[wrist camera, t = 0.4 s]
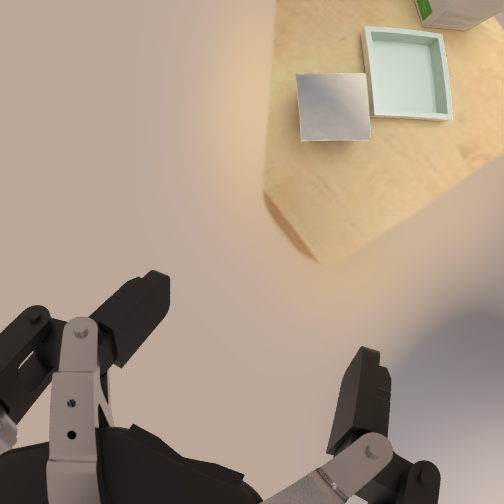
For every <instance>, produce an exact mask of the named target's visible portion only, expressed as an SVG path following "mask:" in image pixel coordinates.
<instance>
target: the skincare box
mask: <svg viewBox="0 0 504 504" xmlns="http://www.w3.org/2000/svg"><path fill="white" fill-rule="evenodd" d="M414 1H415V4H416V7H417V10H418V13H419V16H420V20H421V24H422V26H423V27H429V28H442V29H453V30H461V31H467V30H469V29H471V28H472V27H474V26H476V25H478V24H480V23H481V22H483V21H485V20H487V19H489V18H491V17H492V16H494V15H496V14H498V13H500V12H502V11H504V0H414Z"/></svg>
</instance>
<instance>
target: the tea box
mask: <svg viewBox="0 0 504 504" xmlns="http://www.w3.org/2000/svg"><path fill="white" fill-rule="evenodd" d="M296 82H297V93H298V105H299V117H300V130H301V141H337V140H363V141H371V130H370V115H369V102H368V91H367V81H366V73H311V74H296Z"/></svg>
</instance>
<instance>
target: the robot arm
mask: <svg viewBox="0 0 504 504" xmlns="http://www.w3.org/2000/svg"><path fill="white" fill-rule="evenodd" d="M169 306H170V277H169V276H167V275H165V274H163V273H160V272H158V271H155V270H151V271H150V272H149V273H147V274H146V275H145V276H144V277H143V278H140V277H137V278H134V279H132V280H129V281H127V282H126V283H125V284H124V285H123V286H122V287H120V289H119V290H117V291H116V292H115V293H114V294H113V296H111V297H110V298H108V299H107V300H106V301H105V302H104V303H103V304H102V305H101V306H100V307H99V308H98V309H97V310H96V311H94V313H92V314H91V315H90V316H89V317H76V318H74V319H72V320H70V321H69V322H65V321H62V320H58V319H54V318H51V316H50V313H49V311H48V309H47V308H45V307H43V306H40V305H35V306H31V307H29V308H27V309H25V310H24V311H23V312H22V313H21V314H20V315H19V316H18V317H17V318H16V319H15V320H14V321H13V322H11V323H10V324H9V325H8V326H7V327H6V328H5V330H3V331H2V332H1V333H0V504H345V503H346V502H347V500H348V499H349V498H350V497H351V496H352V495H354V494H355V495H357V496H358V497H360V498H362V499H364V500H366V501H367V502H368V504H438V497H439V489H440V479H441V477H440V472H439V470H438V468H437V467H436V466H435V465H434V464H433V463H431V462H429V461H418V462H417V463H415V464H413V463H410V462H409V461H407V460H405V459H404V458H402V457H400V456H398V455H397V454H395V452H394V451H393V448H392V445H391V443H390V441H389V440H388V424H389V412H390V397H391V393H390V391H391V377H390V375H389V372H388V369H387V368H385V367H382V366H379V362H380V352H379V351H376V350H373V349H369V348H366V347H363V346H362V347H360V349H359V350H358V352H357V354H356V355H355V357H354V359H353V360H352V362H351V363H350V365H349V367H348V368H347V370H346V372H345V374H344V377H343V380H342V383H341V388H340V393H339V398H338V403H337V408H336V412H335V417H334V421H333V426H332V431H331V434H330V439H329V443H328V447H327V451H326V453H327V454H331V455H334V457H333V459H331V460H330V461H328V462H327V463H326V464H324V465H323V466H321V467H320V468H317V469H315V470H314V471H312V472H311V473H309V474H308V475H306V476H305V477H303V478H301V479H300V480H298V481H297V482H295V483H294V484H292V485H290V486H289V487H287V488H285V489H284V490H282V491H280V492H279V493H277V494H275V495H274V496H272V497H270V498H268V499H266V500H265V501H263V500H262V498H261V497H260V495H259V494H258V493H257V492H256V491H255V490H254V489H253V488H252V487H251V486H249V485H248V484H247V483H246V482H244V481H243V477H244V474H242V473H239V472H236V471H233V470H231V469H228V468H226V467H223V466H220V465H218V464H215V463H209V462H204V461H198V460H194V459H188V458H184V457H182V456H181V455H179V454H178V453H177V452H175V451H174V450H173V449H172V448H170V447H169V446H168V445H167V444H166V443H165V442H163V441H162V440H161V439H160V438H159V437H157V436H155V435H153V434H151V433H149V432H147V431H146V430H144V429H142V428H140V427H138V426H137V425H135V424H133V425H132V426H131V427H130V429H127V428H122V427H114V422H113V417H112V412H111V402H110V383H109V368H110V367H111V366H112V364H114V365H117V366H118V367H120V368H122V367H123V366H124V365H125V364H126V363H127V361H128V360H129V359H130V358H131V356H132V355H133V354H134V353H135V352H136V351H137V349H138V348H139V347H140V346H141V345H142V343H143V342H144V341H145V340H146V339H147V337H148V336H149V335H150V334H151V333H152V331H153V330H154V329H155V328H156V327H157V326H158V324H159V323H160V322H161V321H162V320H163V319H164V317H165V316H166V314H167V312H168V310H169ZM32 351H33V354H32V355H31V356H30V357H29V358H28V359H27V360H26V361H25V362H24V363H23V365H22V366H21V367H20V368H19V366H20V364H21V363H22V362H23V361H24V360H25V359H26V358H27V357H28V355H29V354H30V353H31V352H32ZM18 368H19V369H18ZM51 381H52V388H51V403H50V436H49V439H50V440H49V442H44V443H40V444H35V445H30V446H26V447H21V448H16V449H12V446H13V445H15V444H16V442H17V438H16V436H17V427H16V425H17V424H18V423H19V422H20V420H21V419H22V418H23V416H24V415H25V414H26V412H27V411H28V410H29V409H30V407H31V406H32V405H33V403H34V402H35V401H36V400H37V398H38V397H39V396H40V395H41V393H42V392H43V391H44V390H45V388H46V387H47V386H48V385H49V384H50V382H51Z"/></svg>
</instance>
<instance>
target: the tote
mask: <svg viewBox="0 0 504 504" xmlns="http://www.w3.org/2000/svg"><path fill="white" fill-rule="evenodd" d="M360 37H361V44H362V51H363V59H364V67H365V73H366V81H367V91H368V102H369V115H370V117H379V118H403V119H418V120H431V121H452V120H453V113H452V100H451V90H450V81H449V73H448V65H447V59H446V52H445V47H444V41H443V36H442V34H438V33H432V32H425V31H418V30H409V29H400V28H388V27H373V26H364V28H363V30H362V33H361V36H360Z"/></svg>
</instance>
